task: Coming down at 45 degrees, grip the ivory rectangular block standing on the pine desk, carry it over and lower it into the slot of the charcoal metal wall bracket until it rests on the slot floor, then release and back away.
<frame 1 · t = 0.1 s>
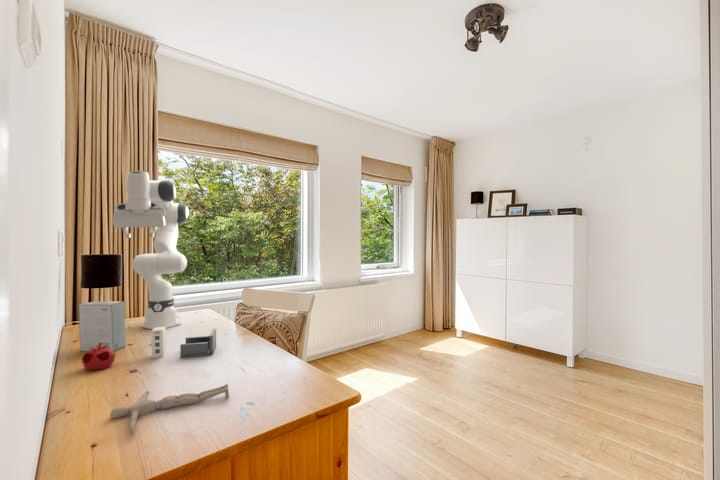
hand: (140, 237, 157), 48 cm above the table, tool pointing down, fingers open, 8 cm apart
pomegranate: (99, 368, 131), on the table
hard drive box: (103, 349, 152), on the table
ivory rectangular block: (159, 355, 143), on the table
bracket: (199, 351, 147), on the table
artist's mannequin: (173, 409, 101), on the table
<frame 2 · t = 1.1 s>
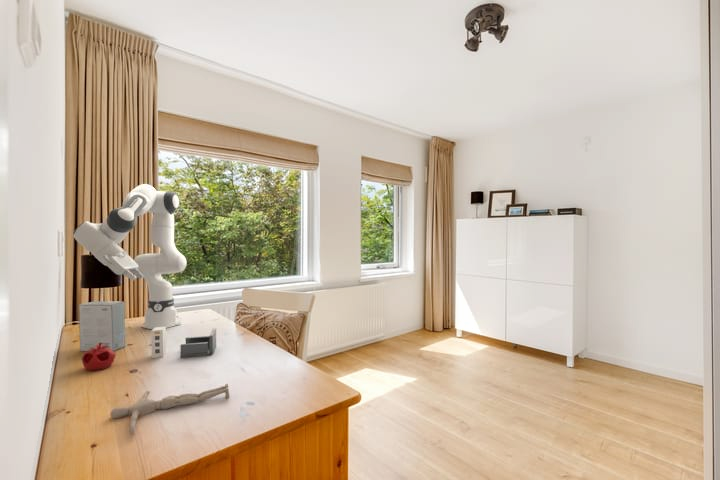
hand: (138, 278, 146), 31 cm above the table, tool tilted 45°, fingers open, 8 cm apart
nothing on the table moved.
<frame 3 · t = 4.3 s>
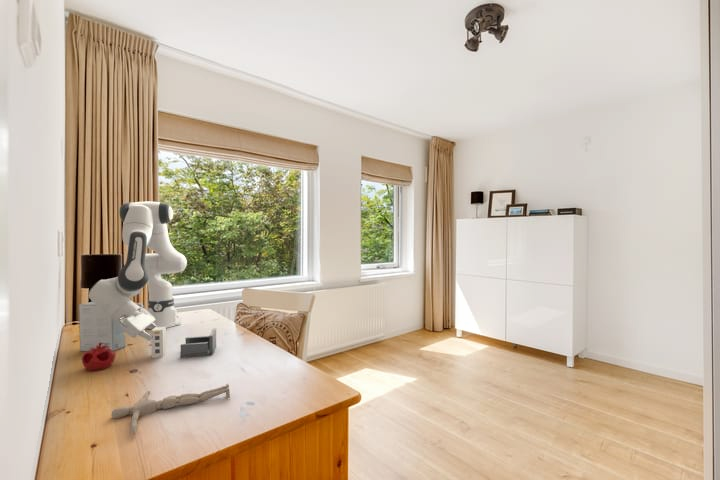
hand: (155, 335, 142), 8 cm above the table, tool tilted 45°, fingers open, 8 cm apart
nothing on the table moved.
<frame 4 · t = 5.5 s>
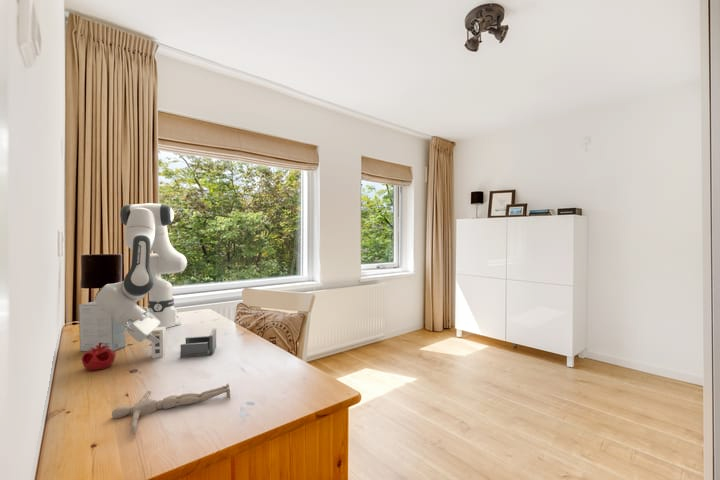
hand: (160, 339, 143), 6 cm above the table, tool tilted 45°, fingers closed on ivory rectangular block, 5 cm apart
ivory rectangular block: (159, 355, 143), on the table, touching gripper
everything else where it was.
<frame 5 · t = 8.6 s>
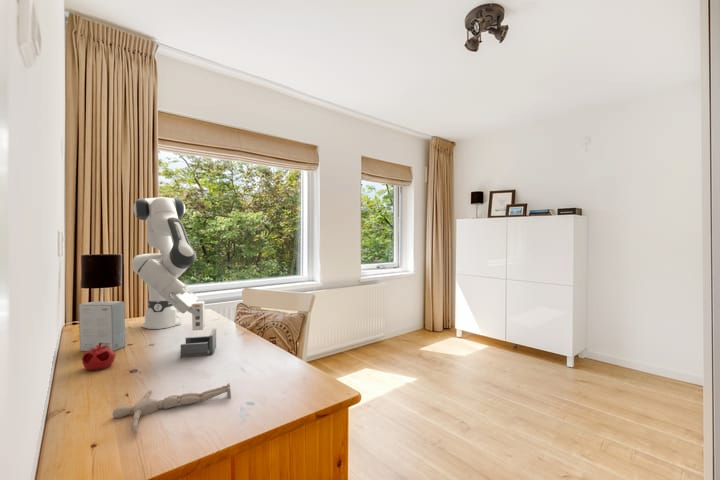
hand: (200, 313, 147), 16 cm above the table, tool tilted 45°, fingers closed on ivory rectangular block, 5 cm apart
ivory rectangular block: (198, 328, 147), point 10 cm above the table, touching gripper
everything else where it was.
when the fingers open (9 cm above the table, at t = 10.2 s): ivory rectangular block drops 2 cm, resting on bracket.
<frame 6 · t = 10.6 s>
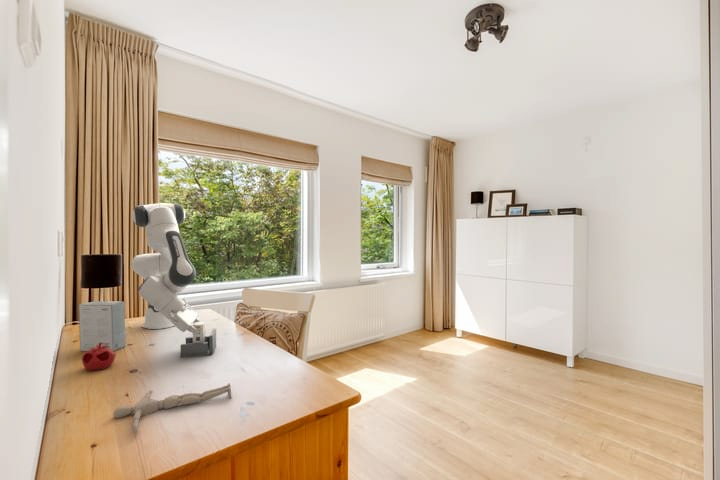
hand: (200, 330, 147), 9 cm above the table, tool tilted 45°, fingers open, 8 cm apart
ivory rectangular block: (199, 349, 147), point 1 cm above the table, touching bracket
everything else where it was.
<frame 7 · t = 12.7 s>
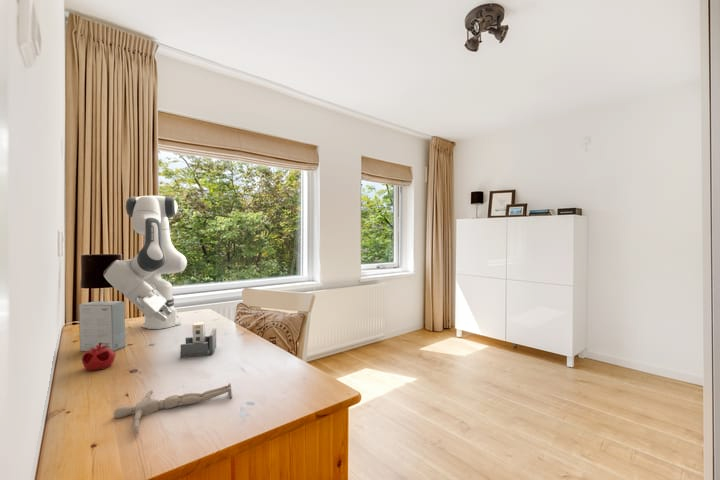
hand: (167, 317, 145), 15 cm above the table, tool tilted 45°, fingers open, 8 cm apart
nothing on the table moved.
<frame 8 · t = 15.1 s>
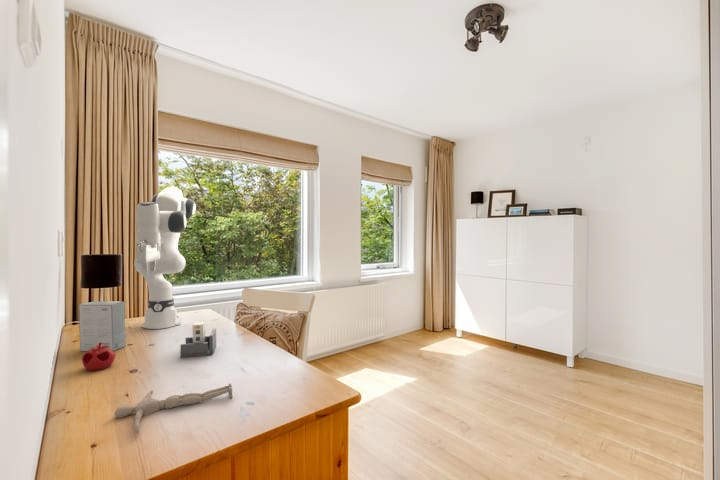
hand: (149, 272, 150), 33 cm above the table, tool pointing down, fingers open, 8 cm apart
at the end: ivory rectangular block inside the target area on the bracket (0.8 cm from its centre), point 1.0 cm above the bracket's base; ivory rectangular block tilted 0°; the gripper is holding nothing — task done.
